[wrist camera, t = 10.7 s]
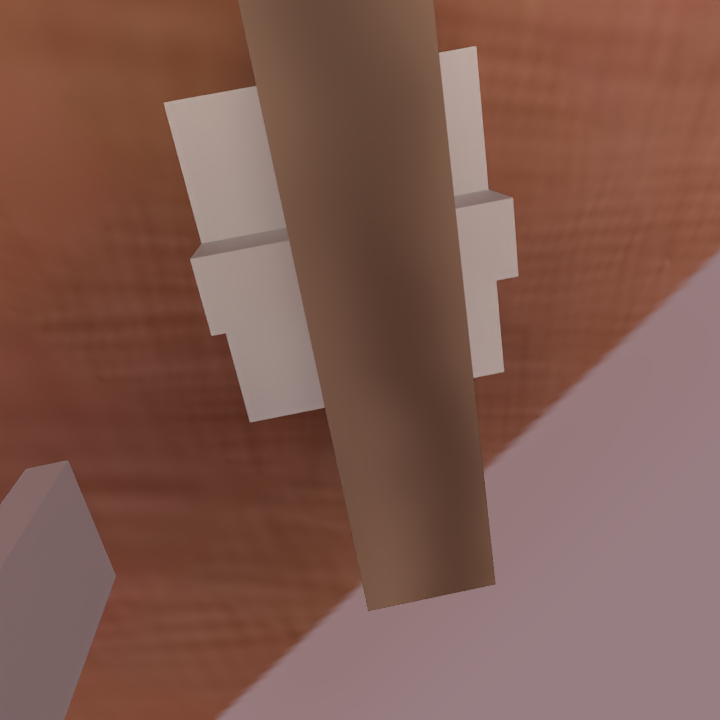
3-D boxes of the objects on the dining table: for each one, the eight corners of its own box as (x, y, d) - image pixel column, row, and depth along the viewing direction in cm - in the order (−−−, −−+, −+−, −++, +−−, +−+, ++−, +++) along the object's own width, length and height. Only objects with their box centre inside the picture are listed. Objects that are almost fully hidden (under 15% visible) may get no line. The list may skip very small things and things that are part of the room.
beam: (355, 529, 28) (368, 611, 23) (240, -21, 20) (224, -65, 15) (461, 507, 28) (495, 584, 23) (392, -47, 20) (423, -99, 15)
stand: (251, 414, 33) (240, 491, 26) (167, 103, 27) (125, 96, 20) (498, 365, 34) (551, 427, 27) (470, 48, 28) (529, 24, 21)
